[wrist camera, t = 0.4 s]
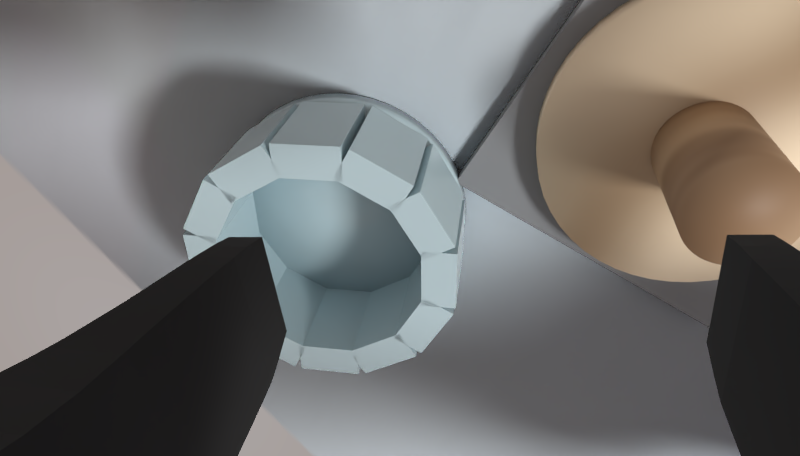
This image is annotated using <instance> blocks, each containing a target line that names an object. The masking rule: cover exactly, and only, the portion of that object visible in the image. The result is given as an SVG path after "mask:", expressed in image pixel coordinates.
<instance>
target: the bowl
mask: <svg viewBox="0 0 800 456" xmlns="http://www.w3.org/2000/svg"><path fill="white" fill-rule="evenodd" d="M458 175H459V173H458V171H457V169H456V167H455V165H454V163H453V161H452V159H451V157H450V156H449V154H448V153H447V151H446V150H445V148H444V147H443V145H442V144H441V143H440V142H439V141H438V140H437V139H436V137H435V136H434V135H433V134H432V133H431V132H430V131H429V130H428V129H426V128H425V127H424V126H423V125H422V124H421V123H419V122H418V121H417V120H415V119H414V118H412V117H411V116H409V115H408V114H406V113H405V112H403V111H401V110H399V109H397V108H395V107H393V106H391V105H389V104H386V103H384V102H381V101H378V100H375V99H372V98H368V97H363V96H359V95H352V94H342V93H331V94H319V95H313V96H307V97H304V98H301V99H297V100H294V101H292V102H290V103H287V104H285V105H283V106H281V107H279V108H278V109H276V110H275V111H273V112H272V113H270V114H269V115H267V116H266V117H265V118H264V119H263V120H262V121H261V122H260V123H259V124H258V125H256V126H254V127H253V128H251V129H249V130H248V131H247V132H246V133H245V134H244V135H243V136H242V137H241V138H240V139H239V140H238V142H237V143H236V144H235V145H234V146H233V147H232V148H231V149H230V150H229V151H228V153H227V154H226V155H225V156H224V157H223V158H222V159H221V160H220V161H219V163H218V164H217V165H216V166H215V167H214V168H213V169H212V170H211V171H210V172H209V174H208V175H207V176H206V177H205V178H204V179H203V181H202V183H201V186H200V188H199V191H198V193H197V195H196V198H195V200H194V203H193V205H192V208H191V210H190V213H189V215H188V217H187V220H186V222H185V225H184V227H183V229H185V230H186V231H185V233H184V234H183V238H184V242H185V246H186V250H187V254H188V258H189V260H190V259H192V258H193V257H195V256H196V255H198V254H200V253H201V252H203V251H204V250H206V249H208V248H209V247H211V246H213V245H215V244H216V243H218V242H220V241H222V240H224V239H226V238H228V237H262V239H263V243H264V246H265V250H266V254H267V258H268V261H269V265H270V269H271V273H272V277H273V280H274V284H275V288H276V292H277V295H278V299H279V303H280V307H281V311H282V314H283V318H284V322H285V326H286V330H287V332H286V336H285V339H284V343H283V346H282V350H281V353H280V357H279V359H281V360H283V361H285V362H287V363H289V364H291V365H293V366H295V365H296V364H297V362H298V361H299V359H300V360H301V366H302V368H303V369H313V370H323V371H332V372H342V373H352V374H359V371H360V368H362V370H363V371H364V372H365V373H368V372H371V371H374V370H377V369H380V368H383V367H386V366H389V365H392V364H395V363H398V362H401V361H404V360H407V359H410V358H413V357H416V354H417V351H418V352H420V353H422V352H423V350H424V349H425V348H426V347H427V346H428V344H429V343H430V342H431V341H432V340H433V338H434V337H435V336H436V335H437V334H438V332H439V331H440V330H441V329H442V328H443V326H444V325H445V324H446V323H447V322H448V320H449V319H450V318H451V317H452V316H453V314H454V308H456V303H457V295H458V287H459V280H460V272H461V264H462V256H463V245H464V226H465V217H466V201H465V195H464V189H463V186H461V185H460V184H459V182H458Z"/></svg>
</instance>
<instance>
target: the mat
mask: <svg viewBox="0 0 800 456" xmlns="http://www.w3.org/2000/svg"><path fill="white" fill-rule="evenodd" d="M628 1H629V0H580V2H579V3H578V5H577V6H576V8H575V9H574V10H573V12H572V13H571V15H570V16H569V17H568V19H567V20H566V22H565V23H564V25H563V26H562V27H561V29H560V30H559V32H558V33H557V35H556V36H555V37H554V39H553V40H552V42H551V43H550V45H549V46H548V47H547V49H546V50H545V52H544V53H543V55H542V56H541V57H540V59H539V60H538V62H537V63H536V65H535V66H534V67H533V69H532V70H531V72H530V73H529V74H528V76H527V77H526V79H525V80H524V82H523V83H522V84H521V86H520V87H519V89H518V90H517V92H516V93H515V94H514V96H513V97H512V99H511V100H510V102H509V103H508V104H507V106H506V107H505V109H504V110H503V112H502V113H501V114H500V116H499V117H498V119H497V120H496V121H495V123H494V124H493V126H492V127H491V129H490V130H489V131H488V133H487V134H486V136H485V137H484V139H483V140H482V141H481V143H480V144H479V146H478V147H477V149H476V150H475V151H474V153H473V154H472V156H471V157H470V159H469V160H468V161H467V163H466V164H465V166H464V167H463V168H462V170H461V171H460V173H459V175H458V182H459V184H460V185H461V186H463V187H465V188H467V189H468V190H470V191H472V192H474V193H475V194H477V195H479V196H481V197H482V198H484V199H486V200H488V201H489V202H491V203H493V204H495V205H496V206H498V207H500V208H502V209H503V210H505V211H507V212H508V213H510V214H512V215H514V216H515V217H517V218H519V219H521V220H522V221H524V222H526V223H528V224H529V225H531V226H533V227H535V228H536V229H538V230H540V231H542V232H543V233H545V234H547V235H549V236H550V237H552V238H554V239H556V240H557V241H559V242H561V243H563V244H564V245H566V246H568V247H570V248H571V249H573V250H575V251H577V252H578V253H580V254H582V255H584V256H585V257H587V258H589V259H590V260H592V261H594V262H596V263H597V264H599V265H601V266H603V267H604V268H606V269H608V270H610V271H611V272H613V273H615V274H617V275H618V276H620V277H622V278H624V279H625V280H627V281H629V282H631V283H632V284H634V285H636V286H638V287H639V288H641V289H643V290H645V291H646V292H648V293H650V294H652V295H653V296H655V297H657V298H659V299H660V300H662V301H664V302H666V303H667V304H669V305H671V306H673V307H674V308H676V309H678V310H679V311H681V312H683V313H685V314H686V315H688V316H690V317H692V318H693V319H695V320H697V321H699V322H700V323H702V324H704V325H706V326H707V327H709V326H710V322H711V317H712V312H713V306H714V301H715V296H716V290H717V285H718V280H719V279H718V280H712V281H700V282H669V281H661V280H653V279H648V278H644V277H640V276H635V275H632V274H629V273H626V272H623V271H620V270H618V269H615V268H613V267H611V266H609V265H607V264H605V263H603V262H601V261H599V260H597V259H596V258H594V257H593V256H591V255H590V254H588V253H587V252H585V251H584V250H583V249H582V248H580V247H579V246H578V245H577V244H576V243H575V242H573V241H572V240H571V239H570V238H569V236H568V235H567V234H566V233H565V232H564V231H563V230H562V228H561V227H560V226H559V224H558V223H557V221H556V220H555V218H554V217H553V215H552V213H551V212H550V210H549V207H548V205H547V203H546V201H545V198H544V196H543V193H542V189H541V185H540V182H539V176H538V168H537V158H536V134H537V126H538V120H539V115H540V111H541V108H542V104H543V101H544V98H545V95H546V93H547V90H548V88H549V86H550V84H551V82H552V80H553V78H554V76H555V74H556V72H557V71H558V69H559V68H560V66H561V64H562V63H563V61H564V60H565V58H566V57H567V55H568V54H569V53H570V52H571V50H572V49H573V48H574V47H575V46H576V44H577V43H578V42H579V41H580V40H581V38H582V37H583V36H584V35H586V34H587V33H588V32H589V31H590V30H591V29H592V28H593V27H594V26H595V25H596V24H597V23H598V22H599V21H601V20H602V19H603V18H604V17H606V16H607V15H608V14H610V13H611V12H612V11H614V10H615V9H616V8H618V7H619V6H621V5H623V4H624V3H626V2H628Z"/></svg>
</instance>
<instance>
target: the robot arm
mask: <svg viewBox="0 0 800 456" xmlns="http://www.w3.org/2000/svg"><path fill="white" fill-rule="evenodd" d="M286 332H287V330H286V326H285V322H284V318H283V314H282V311H281V307H280V303H279V299H278V295H277V292H276V288H275V284H274V280H273V277H272V273H271V269H270V265H269V261H268V258H267V254H266V250H265V246H264V243H263V239H262V237H228V238H226V239H224V240H222V241H220V242H218V243H216V244H215V245H213V246H211V247H209V248H208V249H206V250H204V251H203V252H201V253H200V254H198V255H196V256H195V257H193V258H192V259H190V260H189V261H187V262H185V263H184V264H182V265H181V266H179V267H178V268H176V269H175V270H173V271H172V272H170V273H168V274H167V275H165V276H164V277H162V278H161V279H159V280H158V281H156V282H155V283H153V284H152V285H150V286H148V287H147V288H145V289H144V290H142V291H141V292H140V293H138V294H136V295H135V296H133V297H131V298H130V299H128V300H127V301H125V302H124V303H122V304H120V305H119V306H117V307H116V308H114V309H112V310H110V311H109V312H107V313H106V314H104V315H102V316H101V317H99V318H97V319H96V320H94V321H92V322H91V323H89V324H87V325H86V326H84V327H82V328H81V329H79V330H77V331H76V332H74V333H72V334H71V335H69V336H67V337H66V338H64V339H62V340H60V341H59V342H57V343H55V344H53V345H52V346H50V347H48V348H46V349H44V350H42V351H41V352H39V353H37V354H35V355H33V356H31V357H29V358H28V359H26V360H24V361H22V362H20V363H18V364H16V365H14V366H12V367H10V368H8V369H6V370H4V371H2V372H0V456H238V454H239V452H240V450H241V447H242V445H243V443H244V441H245V439H246V437H247V435H248V433H249V430H250V428H251V426H252V424H253V422H254V420H255V418H256V415H257V413H258V411H259V409H260V407H261V404H262V402H263V400H264V398H265V396H266V393H267V391H268V389H269V387H270V384H271V382H272V379H273V376H274V373H275V370H276V366H277V363H278V360H279V357H280V353H281V350H282V346H283V343H284V339H285V336H286ZM707 346H708V350H709V355H710V359H711V364H712V368H713V373H714V377H715V381H716V385H717V389H718V393H719V397H720V401H721V404H722V407H723V410H724V412H725V415H726V418H727V420H728V423H729V425H730V428H731V431H732V433H733V436H734V439H735V441H736V444H737V446H738V449H739V452H740V454H741V456H800V251H799V250H797V249H796V248H794V247H793V246H791V245H790V244H788V243H787V242H785V241H783V240H782V239H780V238H778V237H777V236H775V235H727V237H726V242H725V248H724V253H723V258H722V264H721V269H720V274H719V280H718V285H717V290H716V296H715V301H714V306H713V312H712V317H711V322H710V328H709V333H708V338H707Z"/></svg>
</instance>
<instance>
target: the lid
mask: <svg viewBox="0 0 800 456" xmlns="http://www.w3.org/2000/svg"><path fill="white" fill-rule="evenodd" d="M536 158H537V168H538V176H539V182H540V185H541V189H542V193H543V196H544V198H545V201H546V203H547V205H548V207H549V210H550V212H551V213H552V215H553V217H554V218H555V220H556V221H557V223H558V224H559V226H560V227H561V228H562V230H563V231H564V232H565V233H566V234H567V235H568V236H569V238H570V239H571V240H572V241H573V242H575V243H576V244H577V245H578V246H579V247H580V248H582V249H583V250H584V251H585V252H587V253H588V254H590V255H591V256H593V257H594V258H596V259H597V260H599V261H601V262H603V263H605V264H607V265H609V266H611V267H613V268H615V269H618V270H620V271H623V272H626V273H629V274H632V275H635V276H640V277H644V278H648V279H653V280H661V281H669V282H700V281H712V280H718V279H719V274H720V269H721V264H722V258H723V253H724V248H725V242H726V237H727V235H775V236H777V237H778V238H780V239H782V240H783V241H785V242H787V243H788V244H790V245H791V246H793V247H794V248H796V249H797V250H799V251H800V0H629V1H628V2H626V3H624V4H623V5H621V6H619V7H618V8H616V9H615V10H614V11H612V12H611V13H610V14H608V15H607V16H606V17H604V18H603V19H602V20H601V21H599V22H598V23H597V24H596V25H595V26H594V27H593V28H592V29H591V30H590V31H589V32H588V33H587V34H586V35H584V36H583V37H582V38H581V40H580V41H579V42H578V43H577V44H576V46H575V47H574V48H573V49H572V50H571V52H570V53H569V54H568V55H567V57H566V58H565V60H564V61H563V63H562V64H561V66H560V68H559V69H558V71H557V72H556V74H555V76H554V78H553V80H552V82H551V84H550V86H549V88H548V90H547V93H546V95H545V98H544V101H543V104H542V108H541V111H540V115H539V120H538V126H537V134H536Z"/></svg>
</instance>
